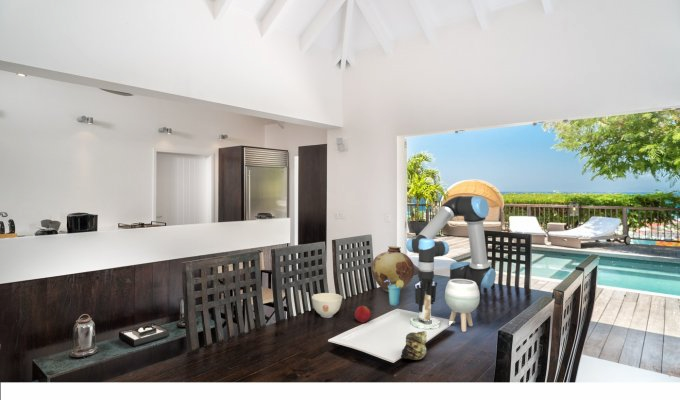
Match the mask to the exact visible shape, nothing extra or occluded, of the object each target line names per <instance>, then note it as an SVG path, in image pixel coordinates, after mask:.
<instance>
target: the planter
mask: <svg viewBox="0 0 680 400" xmlns="http://www.w3.org/2000/svg"><path fill="white" fill-rule="evenodd" d="M444 290H445V291H444V300H445V303H446V304H447V306H448V307H449V309H451V311H450V315H449V319H448V322H449V321H454V322H455V319H456V317H457V314H458V313H459V314H460V326H461V327H460V329H461V332H463V333H466V332H467V326H468V327H470V328H471V327H473V320H472V314H471V313H472V312H474V311H475V310H476V309H477V308H478V306H479V305H480V300H481V299H480V297H481V296H480V295H481V294H480V289H479V287H478V286H477V284H476V282H474V281H471V280H466V279H452V280H450V279H449V280H448V281H447V283H446V286H445V289H444Z"/></svg>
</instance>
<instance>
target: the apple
mask: <svg viewBox="0 0 680 400" xmlns="http://www.w3.org/2000/svg"><path fill="white" fill-rule="evenodd" d="M371 316H372V311H371V310H370V308H368V307H367V306H366V305H360V306H358V307H356V309H355V311H354V318H355V319H356V320H355V321H357V322H359V323H366V322H368V321H369V320H370V318H371Z"/></svg>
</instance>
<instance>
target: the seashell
mask: <svg viewBox="0 0 680 400" xmlns="http://www.w3.org/2000/svg"><path fill="white" fill-rule="evenodd" d="M426 344H427V331H425V330H424V331H423V330H422V331H418V332H413V331H412V332H409V333H407V334H406V335H405V346H404V347H403V348H402V350H401V355H400V357H401V358H402V359H406V360H414V361H418V360H422V359H423V358H424V357H425V356H426V354H427V347H426Z"/></svg>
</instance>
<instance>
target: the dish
mask: <svg viewBox="0 0 680 400" xmlns="http://www.w3.org/2000/svg"><path fill="white" fill-rule="evenodd" d="M419 317H420V315H417V316H412V317H411V318H410V319H409V321H410V325H411V326H412V327H414V328H416V327H418V328H417V329H420V328H432V327H435V326H437V325H439V323H440V324H441V321H440V320H439V321H438V323H437V324H432V320H429V321H423V320H421V319H420V318H419ZM431 324H432V325H431Z"/></svg>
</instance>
